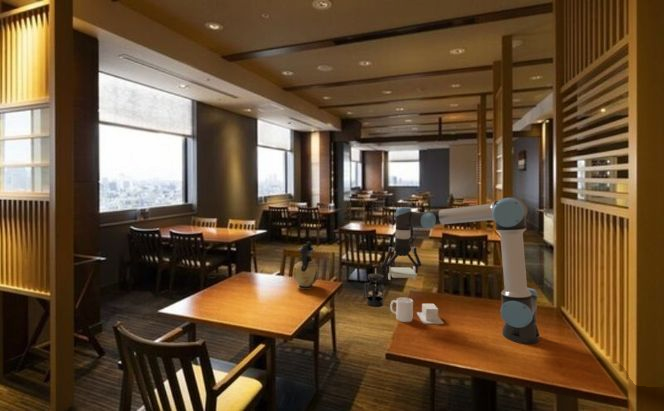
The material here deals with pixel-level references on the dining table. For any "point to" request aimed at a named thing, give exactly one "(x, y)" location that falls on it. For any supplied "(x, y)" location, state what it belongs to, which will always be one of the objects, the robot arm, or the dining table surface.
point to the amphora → (306, 268)
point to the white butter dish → (429, 314)
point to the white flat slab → (402, 272)
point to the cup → (403, 309)
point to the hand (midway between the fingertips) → (401, 279)
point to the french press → (374, 290)
